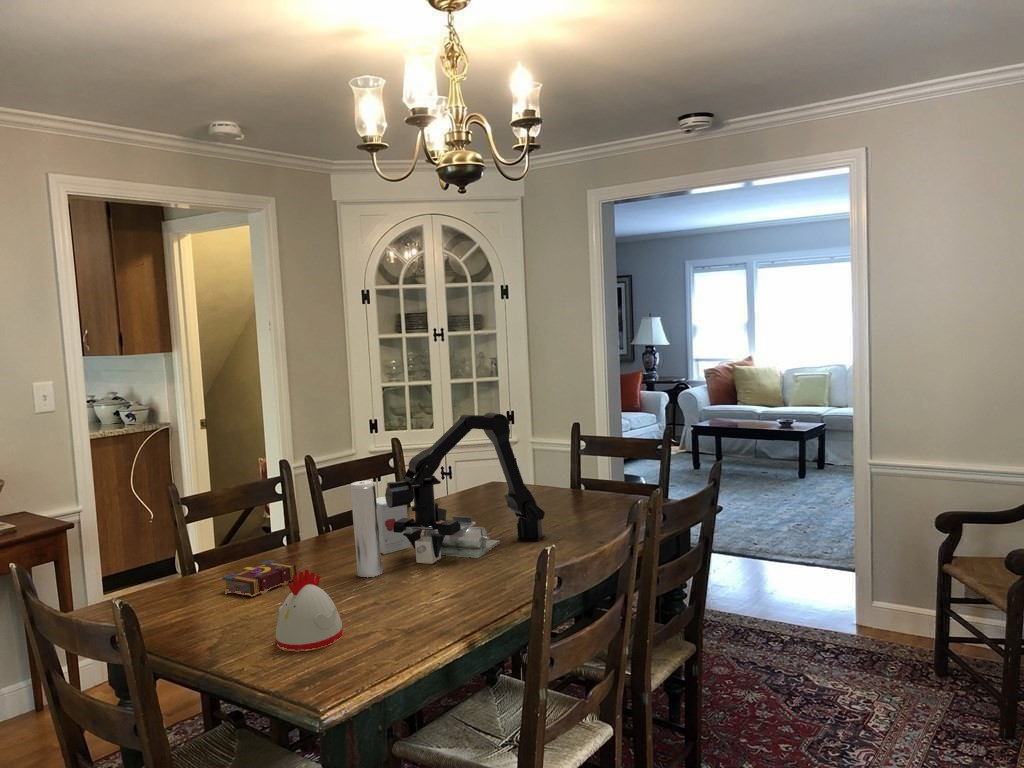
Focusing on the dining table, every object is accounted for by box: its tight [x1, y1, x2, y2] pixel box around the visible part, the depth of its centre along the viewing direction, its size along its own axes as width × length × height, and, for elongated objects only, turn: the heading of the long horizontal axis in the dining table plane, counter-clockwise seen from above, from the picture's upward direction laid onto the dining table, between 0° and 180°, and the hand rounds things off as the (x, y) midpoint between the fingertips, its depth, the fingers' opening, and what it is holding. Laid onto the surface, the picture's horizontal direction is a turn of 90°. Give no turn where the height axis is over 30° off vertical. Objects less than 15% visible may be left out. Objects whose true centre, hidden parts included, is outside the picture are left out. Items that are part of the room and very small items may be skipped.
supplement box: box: [376, 496, 411, 555], centre depth 231 cm, size 9×9×15 cm
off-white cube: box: [414, 535, 442, 564], centre depth 216 cm, size 5×7×6 cm
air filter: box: [350, 480, 383, 579], centre depth 208 cm, size 6×6×25 cm
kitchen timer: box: [275, 568, 344, 650], centre depth 167 cm, size 14×14×15 cm
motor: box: [423, 515, 501, 559], centre depth 226 cm, size 20×14×8 cm
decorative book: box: [222, 559, 298, 595], centre depth 204 cm, size 11×16×5 cm
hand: (428, 556), depth 217 cm, fingers closed on off-white cube, 5 cm apart
